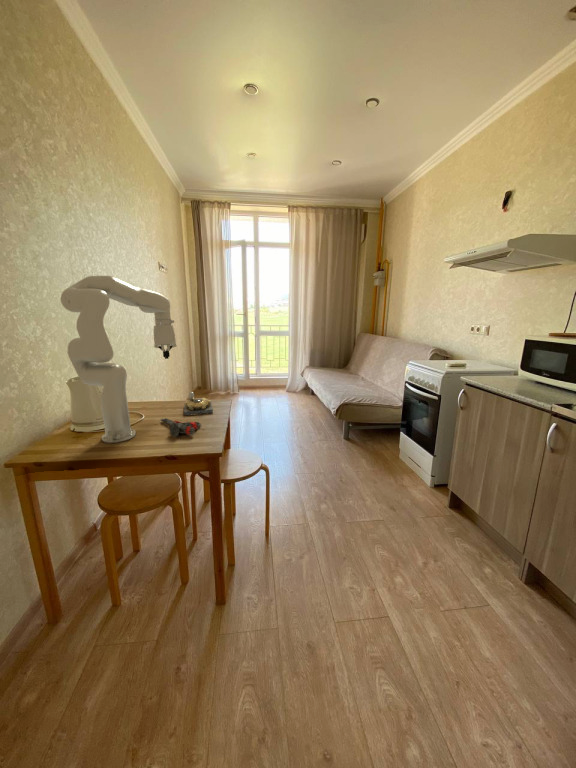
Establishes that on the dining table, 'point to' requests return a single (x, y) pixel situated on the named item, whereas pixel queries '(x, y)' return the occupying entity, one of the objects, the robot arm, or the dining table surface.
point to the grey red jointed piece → (181, 427)
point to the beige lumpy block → (197, 402)
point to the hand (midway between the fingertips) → (166, 358)
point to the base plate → (198, 410)
